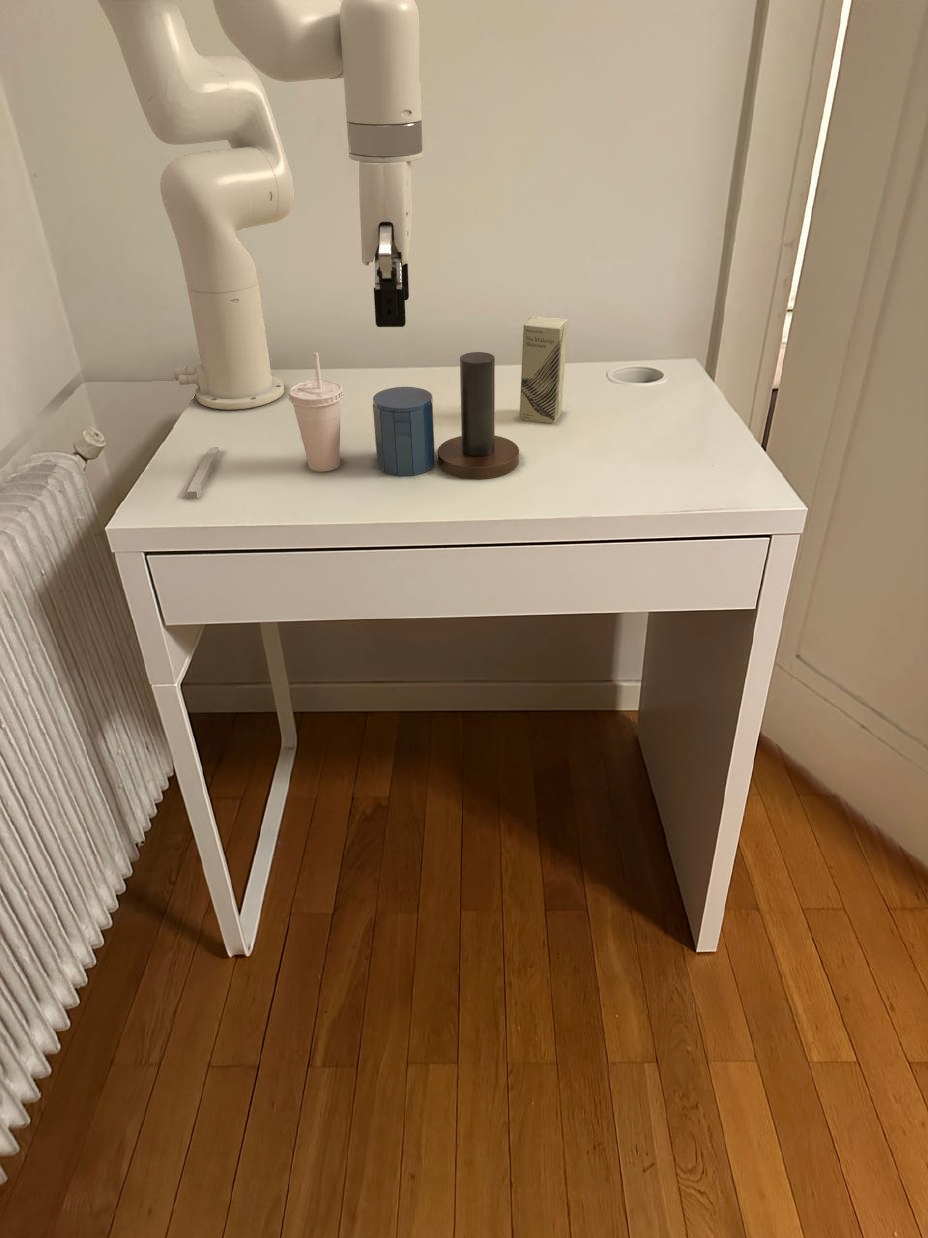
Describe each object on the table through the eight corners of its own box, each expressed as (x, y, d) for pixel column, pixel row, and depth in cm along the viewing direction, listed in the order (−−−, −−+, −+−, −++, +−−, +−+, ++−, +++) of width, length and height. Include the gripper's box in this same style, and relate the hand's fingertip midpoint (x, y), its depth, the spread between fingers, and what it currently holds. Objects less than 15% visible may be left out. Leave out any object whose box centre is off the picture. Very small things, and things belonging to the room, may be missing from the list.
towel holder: (437, 480, 107) (433, 373, 100) (438, 445, 115) (434, 344, 108) (521, 478, 107) (523, 370, 100) (516, 444, 115) (517, 342, 108)
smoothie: (341, 478, 108) (328, 362, 100) (290, 474, 109) (274, 360, 101) (356, 455, 113) (346, 344, 105) (308, 452, 114) (294, 342, 106)
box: (518, 420, 122) (520, 324, 114) (527, 408, 125) (529, 314, 118) (556, 424, 120) (560, 327, 113) (564, 412, 124) (569, 317, 116)
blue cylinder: (376, 476, 108) (370, 408, 103) (379, 452, 114) (374, 387, 109) (434, 475, 108) (431, 407, 103) (435, 451, 114) (432, 385, 109)
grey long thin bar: (197, 499, 104) (196, 491, 104) (188, 499, 104) (186, 491, 104) (219, 454, 115) (218, 446, 114) (211, 454, 115) (209, 447, 114)
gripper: (355, 129, 98) (365, 290, 108) (339, 154, 84) (353, 337, 94) (424, 129, 98) (428, 290, 108) (420, 154, 84) (424, 337, 94)
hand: (393, 312), depth 101 cm, fingers open, 9 cm apart
